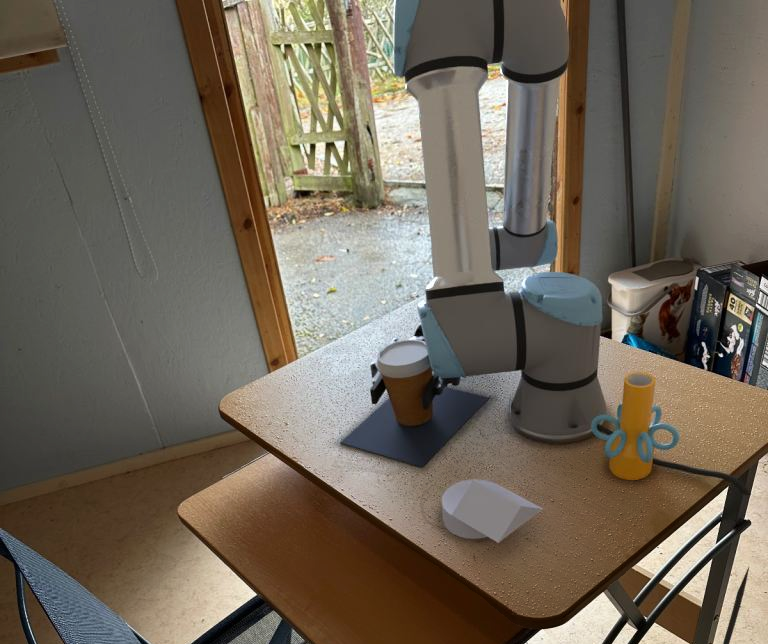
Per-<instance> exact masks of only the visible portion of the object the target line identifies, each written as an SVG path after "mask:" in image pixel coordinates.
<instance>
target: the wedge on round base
mask: <svg viewBox="0 0 768 644" xmlns="http://www.w3.org/2000/svg"><path fill="white" fill-rule="evenodd" d="M441 509H442V520H443V521H442V522H443V525H444V527H445V529H447V531H448V532H450V533H451V534H453V535H455V536H457V537H460V538H463V539H468V540H477V539H484V538H485V539H486V538H489V539H491V540H492V541H494V542H496V543H498V544H499V543H500V542H502V541H503V540H505V538H507V537H508V536H510V535H511V534H512V533H513V532H515V531H516V530H518V529H519V528H520V527H521V526H523V525H524V524H525V523H527V522H528V521H529V520H531V519H532V518H533V517H535V516H536V515H537V514H539V513H540V512H541V511H543V510H544V508H543V507H541V506H539V505H538V504H535V503H533V502H531V501H529V500H528V499H525V498H524V497H522V496H520V495H518V494H516V493H514V492H512V491H510V490H509V489H507V488H505V487H503V486H501V485H499V484H497V483H495V482H493V481H490V480H486V479H480V478H479V479H478V478H475V479H474V478H472V479H466V480H465V479H464V480H461V481H458V482H456V483H454V484H452V485H451V486H449V487H447V489H445V491H444V492H443V494H442V497H441Z"/></svg>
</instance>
